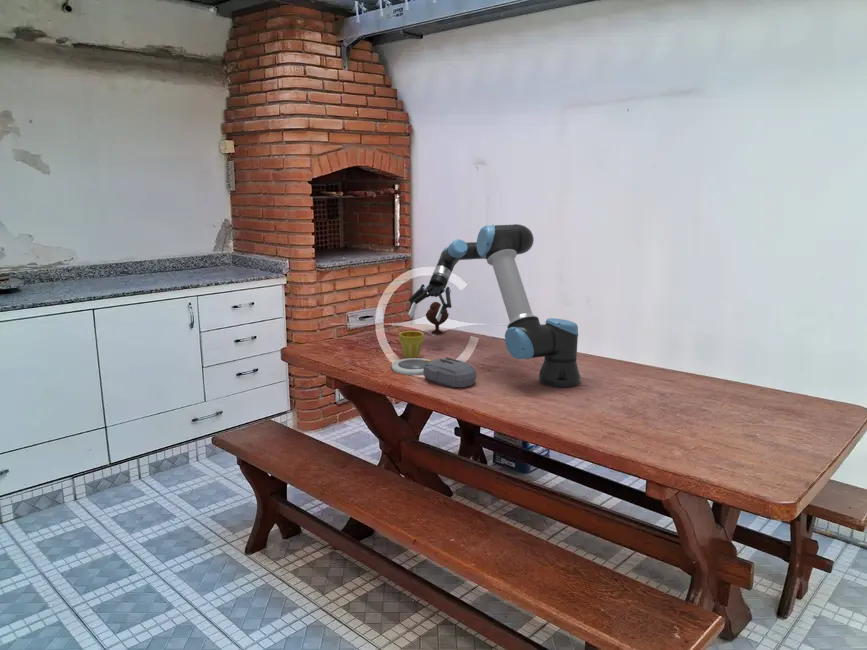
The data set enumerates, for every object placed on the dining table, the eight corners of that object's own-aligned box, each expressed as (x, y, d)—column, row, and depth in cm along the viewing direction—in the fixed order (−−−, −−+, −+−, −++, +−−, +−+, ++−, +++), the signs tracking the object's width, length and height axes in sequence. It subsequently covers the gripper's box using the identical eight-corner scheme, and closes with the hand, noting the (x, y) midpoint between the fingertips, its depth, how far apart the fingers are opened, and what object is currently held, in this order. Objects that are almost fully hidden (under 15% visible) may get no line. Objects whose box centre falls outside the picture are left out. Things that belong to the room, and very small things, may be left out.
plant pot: (423, 359, 270) (423, 336, 268) (398, 359, 270) (398, 336, 268) (424, 352, 280) (424, 330, 278) (400, 352, 280) (399, 330, 278)
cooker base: (446, 368, 258) (446, 364, 257) (411, 378, 246) (411, 373, 246) (417, 359, 271) (417, 354, 270) (382, 367, 259) (382, 363, 259)
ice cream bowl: (423, 334, 311) (423, 303, 307) (430, 329, 321) (430, 299, 318) (444, 336, 308) (444, 305, 304) (450, 331, 318) (451, 300, 315)
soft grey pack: (418, 380, 244) (458, 392, 231) (418, 359, 242) (459, 370, 229) (445, 371, 255) (485, 382, 241) (445, 351, 253) (486, 361, 239)
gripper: (467, 285, 287) (452, 325, 278) (418, 281, 299) (401, 319, 289) (462, 275, 281) (446, 316, 272) (412, 271, 293) (395, 310, 284)
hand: (423, 318), depth 281 cm, fingers open, 13 cm apart
